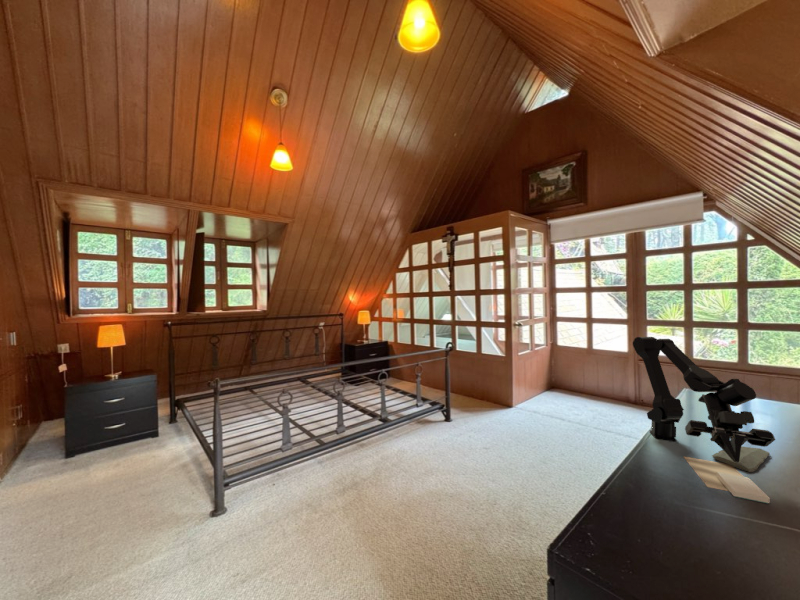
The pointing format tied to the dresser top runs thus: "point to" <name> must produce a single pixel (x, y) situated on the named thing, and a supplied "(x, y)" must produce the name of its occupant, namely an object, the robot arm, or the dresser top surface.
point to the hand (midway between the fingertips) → (736, 461)
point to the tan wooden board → (711, 471)
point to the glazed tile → (742, 487)
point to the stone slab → (744, 458)
